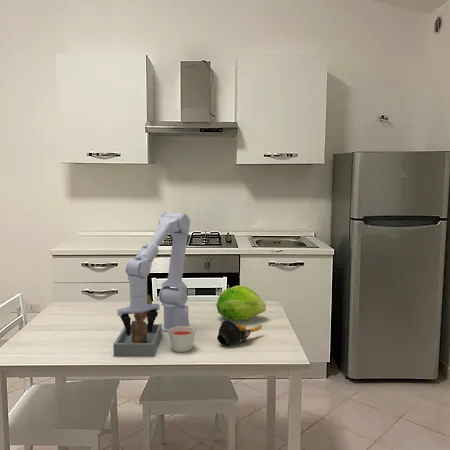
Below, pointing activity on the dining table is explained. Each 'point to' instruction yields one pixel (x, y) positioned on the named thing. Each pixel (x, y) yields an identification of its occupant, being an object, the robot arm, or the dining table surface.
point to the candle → (181, 338)
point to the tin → (143, 314)
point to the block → (139, 331)
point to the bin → (128, 348)
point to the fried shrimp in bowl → (234, 333)
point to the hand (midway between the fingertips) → (139, 333)
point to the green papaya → (240, 303)
